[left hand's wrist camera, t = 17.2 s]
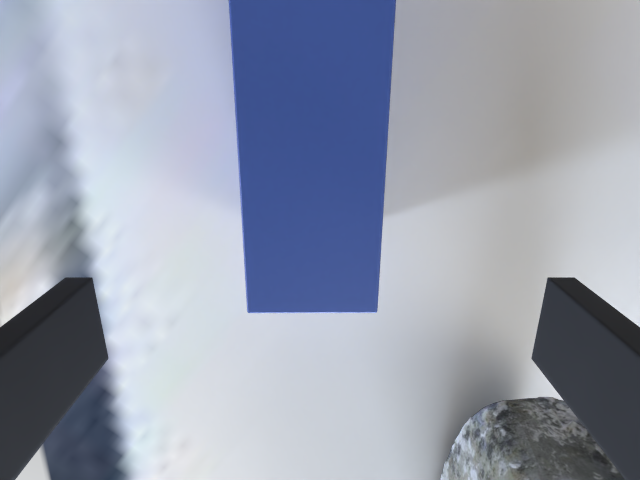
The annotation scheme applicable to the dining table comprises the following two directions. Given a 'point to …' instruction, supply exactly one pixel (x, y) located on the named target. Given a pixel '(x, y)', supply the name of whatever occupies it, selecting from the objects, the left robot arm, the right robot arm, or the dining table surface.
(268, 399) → the dining table surface
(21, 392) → the left robot arm
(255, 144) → the box
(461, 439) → the concrete block
